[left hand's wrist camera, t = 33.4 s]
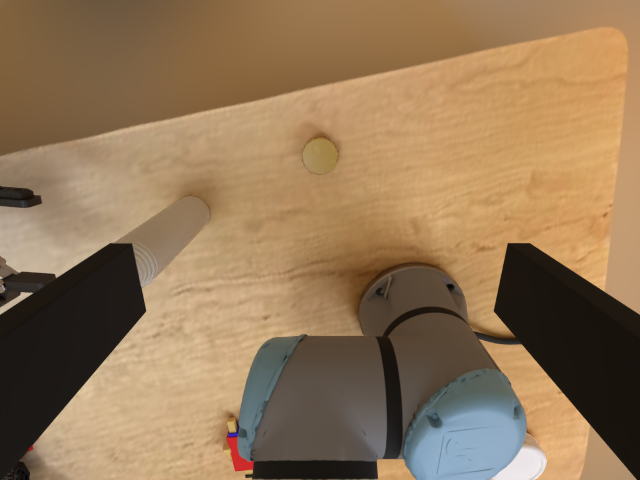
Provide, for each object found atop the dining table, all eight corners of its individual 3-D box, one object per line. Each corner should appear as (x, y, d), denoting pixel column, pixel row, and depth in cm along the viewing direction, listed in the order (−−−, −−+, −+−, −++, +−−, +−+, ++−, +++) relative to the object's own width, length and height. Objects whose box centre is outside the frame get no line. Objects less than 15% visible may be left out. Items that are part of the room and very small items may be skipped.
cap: (335, 134, 43) (336, 135, 41) (339, 169, 44) (339, 172, 42) (300, 138, 43) (299, 140, 41) (305, 173, 45) (304, 176, 42)
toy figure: (216, 426, 57) (231, 480, 61) (257, 422, 57) (269, 477, 61) (220, 414, 60) (234, 467, 63) (259, 411, 59) (271, 464, 63)
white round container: (539, 426, 60) (552, 444, 57) (531, 466, 63) (543, 486, 60) (481, 429, 60) (490, 448, 57) (476, 469, 64) (485, 489, 60)
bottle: (217, 214, 46) (144, 292, 27) (194, 236, 48) (107, 325, 28) (190, 188, 45) (93, 250, 26) (167, 211, 46) (57, 287, 27)
